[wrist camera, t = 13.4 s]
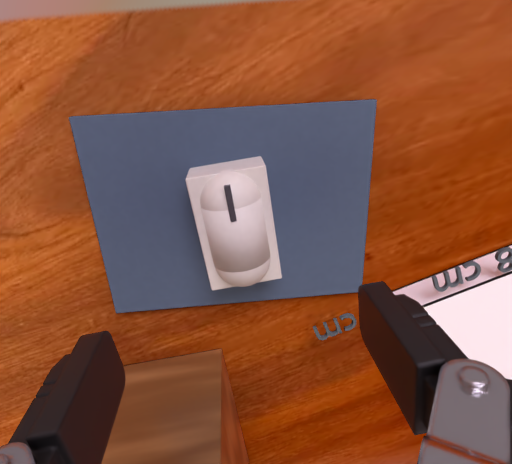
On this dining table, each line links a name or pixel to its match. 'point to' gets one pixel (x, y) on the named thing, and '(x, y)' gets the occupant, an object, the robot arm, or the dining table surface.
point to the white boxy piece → (235, 222)
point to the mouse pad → (217, 151)
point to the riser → (177, 414)
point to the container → (467, 307)
